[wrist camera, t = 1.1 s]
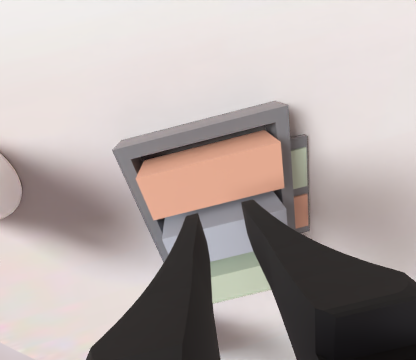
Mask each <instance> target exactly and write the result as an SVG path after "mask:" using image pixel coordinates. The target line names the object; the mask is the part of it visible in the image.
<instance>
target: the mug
mask: <svg viewBox="0 0 416 360" xmlns="http://www.w3.org/2000/svg"><path fill="white" fill-rule="evenodd" d="M21 197H22V187H21V182H20V179H19V177H18V175H17V173H16V171H15V169H14V168H13V167H12V165H11V164H10V163H9V162H8V160H7V159H6V158H5V157H4V156H3V155H2V154H0V219H3V218H5V217H7V216H8V215H10V214H11V213H12V212H13V211H14V210H15V209H16V208H17V207H18V205H19V203H20V201H21Z"/></svg>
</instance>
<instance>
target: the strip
mask: <svg viewBox="0 0 416 360" xmlns="http://www.w3.org/2000/svg"><path fill="white" fill-rule="evenodd" d="M290 144H291V161H292V178H293V194H294V211H295V227H296V231H297V232H299V233H303V232H307V231H309V190H308V146H307V135H305V134H304V135H300V136H296V137H292V138H290Z"/></svg>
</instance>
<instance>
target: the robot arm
mask: <svg viewBox="0 0 416 360" xmlns="http://www.w3.org/2000/svg"><path fill="white" fill-rule="evenodd" d="M241 205H242V210H243V215H244V220H245V226H246V231H247V235H248V238H249V241H250V243H251V246H252V249H253V252H254V254H255V256H256V258H257V260H258V262H259V264H260V267H261V269H262V271H263V273H264V275H265V277H266V279H267V281H268V284H269V286H270V288H271V290H272V292H273V295H274V297H275V300H276V303H277V305H278V308H279V311H280V313H281V316H282V319H283V322H284V325H285V327H286V330H287V333H288V336H289V339H290V341H291V344H292V347H293V350H294V353H295V356H296V359H297V360H416V282H415V281H414V280H412V279H411V278H410V277H409V276H408V275H406V274H405V273H404V272H400V271H397V270H393V269H390V268H386V267H383V266H379V265H376V264H373V263H369V262H366V261H363V260H360V259H357V258H355V257H352V256H349V255H346V254H344V253H341V252H338V251H336V250H334V249H331V248H329V247H327V246H324V245H322V244H320V243H318V242H316V241H313V240H312V239H310V238H308V237H306V236H304V235H302V234H300V233H299V232H297V231H295V230H294V229H292V228H290V227H289V226H287V225H286V224H284V223H283V222H281V221H280V220H278V219H277V218H276V217H274V216H273V215H272V214H270V213H269V212H268V211H266V210H265V209H264V208H263V207H262V206H260V205H259V204H258V203H257V202H256V201H255V200H253V199H252V200H248V201H244V202H241ZM86 360H220V354H219V348H218V341H217V334H216V327H215V320H214V314H213V303H212V285H211V267H210V256H209V250H208V245H207V240H206V237H205V234H204V231H203V227H202V224H201V221H200V218H199V215H198V213H195V214H191V215H187V216H186V217H185V220H184V222H183V225H182V227H181V230H180V232H179V234H178V237H177V239H176V241H175V243H174V245H173V247H172V249H171V251H170V253H169V255H168V256H167V258H166V260H165V262H164V263H163V265H162V267H161V268H160V270H159V271H158V273H157V274H156V276H155V277H154V279H153V280H152V282H151V283H150V284H149V286H148V287H147V288H146V290H145V291H144V292H143V293H142V295H141V296H140V297H139V298H138V300H137V301H136V302H135V303H134V304H133V305H132V307H131V308H130V309H129V310H128V311H127V312H126V313H125V314H124V315H123V317H122V318H121V319H120V320H119V321H118V322H117V323H116V324H115V325H114V326H113V327H112V328H111V329H110V330H109V331H108V332H107V333H106V334H105V335H104V336H103V337H102V338H101V339H100V340H99V341H97V342H96V343H95V344H94V345H93V346H92V347H91V349H90V351H89V354H88V356H87V359H86Z"/></svg>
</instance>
